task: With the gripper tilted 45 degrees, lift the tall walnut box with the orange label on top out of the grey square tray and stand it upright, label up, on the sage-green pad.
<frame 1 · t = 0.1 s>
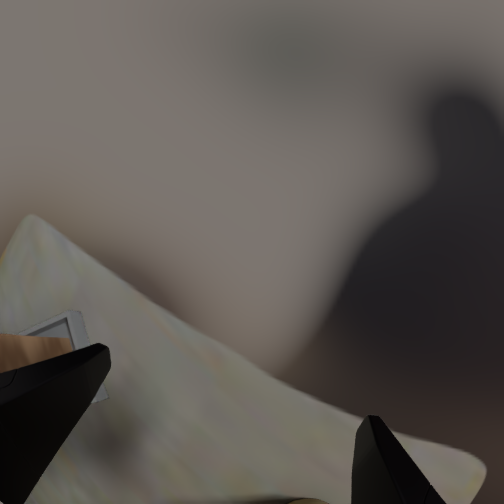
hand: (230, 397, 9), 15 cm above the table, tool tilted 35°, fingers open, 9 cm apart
walnut box: (60, 365, 23), resting on grey square tray
grey square tray: (63, 365, 24), on the table
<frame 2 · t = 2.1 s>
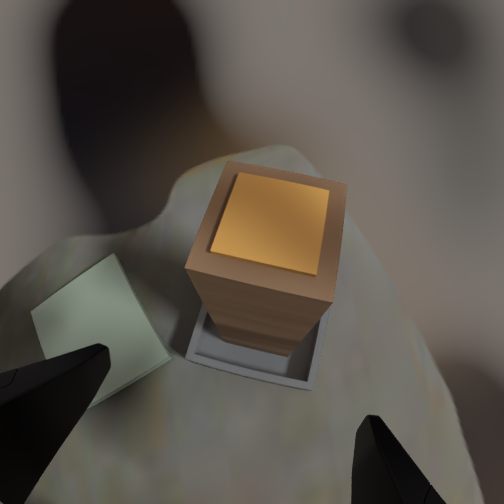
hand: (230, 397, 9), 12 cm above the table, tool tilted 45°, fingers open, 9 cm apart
sage pad: (93, 335, 21), on the table
walnut box: (263, 320, 21), resting on grey square tray
grey square tray: (263, 321, 22), on the table
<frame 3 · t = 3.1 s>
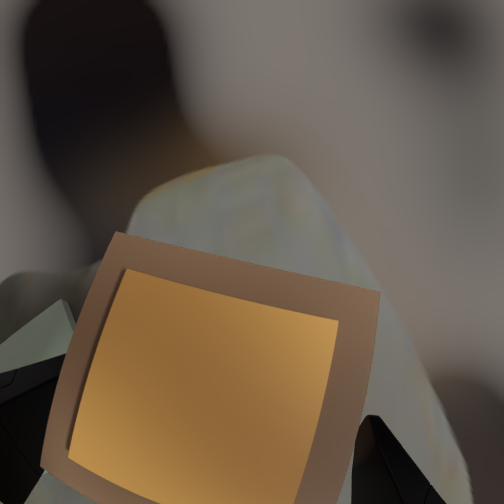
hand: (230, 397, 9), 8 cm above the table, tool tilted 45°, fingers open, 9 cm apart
sage pad: (45, 395, 15), on the table
walnut box: (240, 396, 15), resting on grey square tray
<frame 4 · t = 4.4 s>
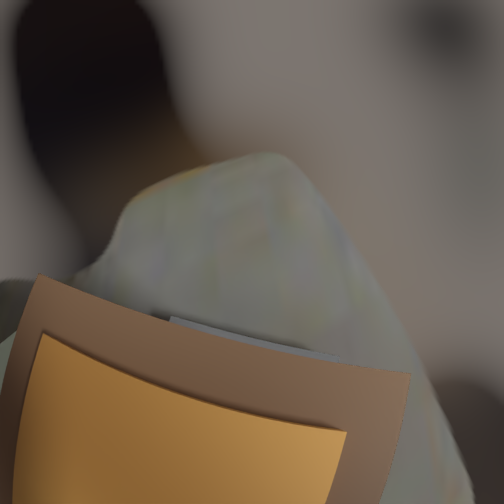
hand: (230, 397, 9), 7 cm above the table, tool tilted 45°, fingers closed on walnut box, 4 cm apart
sage pad: (31, 409, 13), on the table
walnut box: (233, 419, 13), resting on grey square tray, touching gripper
grey square tray: (233, 418, 14), on the table
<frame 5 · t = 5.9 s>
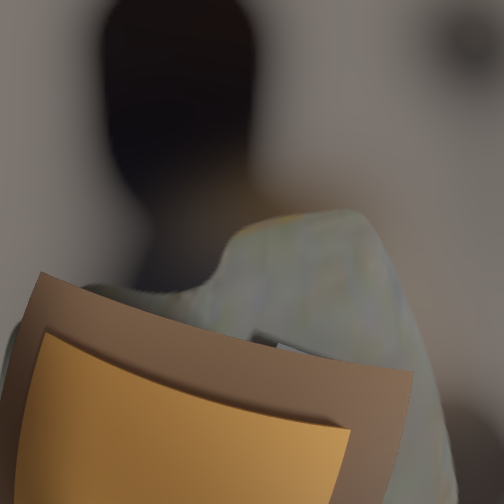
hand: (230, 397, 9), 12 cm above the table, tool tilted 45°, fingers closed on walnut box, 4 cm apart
walnut box: (233, 419, 13), point 6 cm above the table, touching gripper
when the fingers open (8 cm above the table, at t = 7.8 s): walnut box drops 1 cm, resting on sage pad.
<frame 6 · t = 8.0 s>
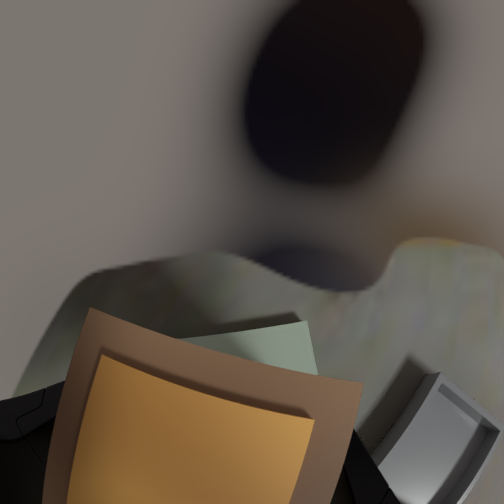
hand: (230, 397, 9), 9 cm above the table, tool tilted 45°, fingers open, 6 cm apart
sage pad: (236, 415, 16), on the table
walnut box: (234, 416, 15), point 1 cm above the table, touching sage pad
grey square tray: (430, 455, 13), on the table
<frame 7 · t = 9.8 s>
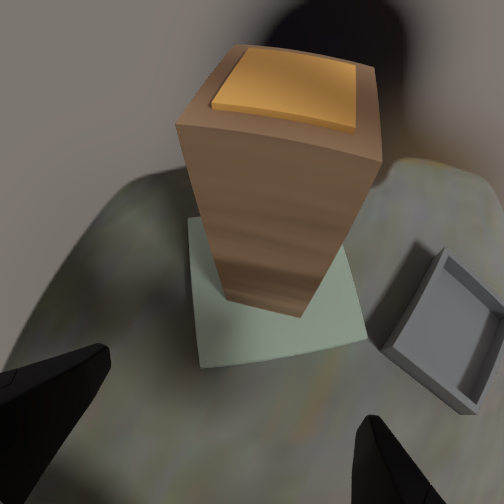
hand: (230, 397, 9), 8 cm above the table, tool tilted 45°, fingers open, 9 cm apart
sage pad: (271, 280, 19), on the table
walnut box: (272, 275, 18), point 1 cm above the table, touching sage pad
grey square tray: (451, 335, 17), on the table
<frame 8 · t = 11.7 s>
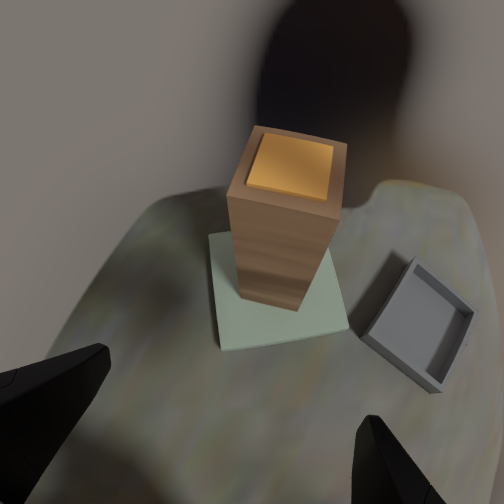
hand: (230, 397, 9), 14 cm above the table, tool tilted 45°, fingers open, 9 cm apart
sage pad: (275, 283, 25), on the table
walnut box: (275, 279, 24), point 1 cm above the table, touching sage pad
grey square tray: (420, 328, 23), on the table
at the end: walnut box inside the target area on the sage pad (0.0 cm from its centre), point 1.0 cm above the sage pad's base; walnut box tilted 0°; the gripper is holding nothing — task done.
